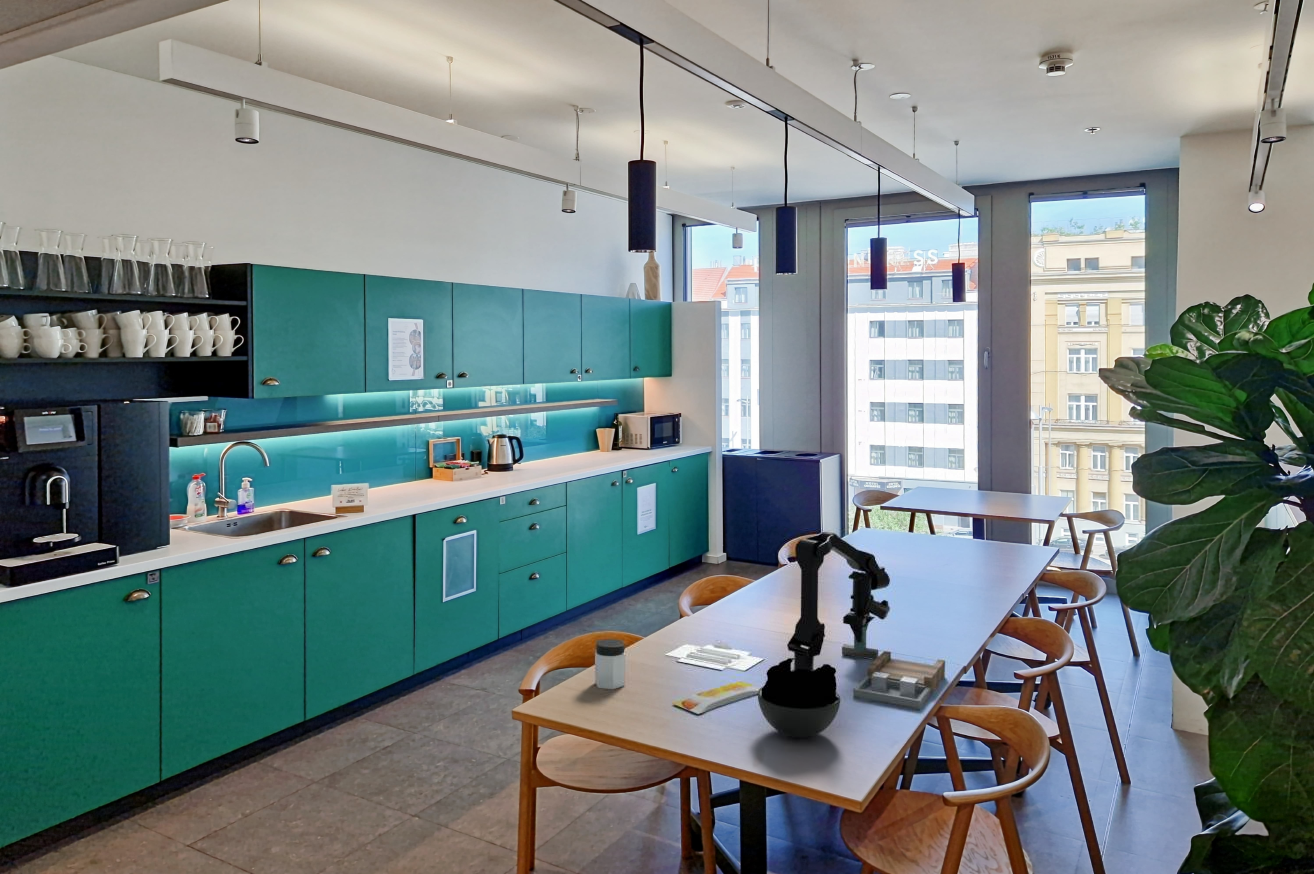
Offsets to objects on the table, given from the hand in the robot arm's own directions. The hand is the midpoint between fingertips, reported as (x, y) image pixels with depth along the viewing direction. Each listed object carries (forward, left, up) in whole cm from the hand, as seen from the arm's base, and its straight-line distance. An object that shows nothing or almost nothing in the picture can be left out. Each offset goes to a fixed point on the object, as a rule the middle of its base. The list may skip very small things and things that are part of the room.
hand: (860, 641), depth 282 cm
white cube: (-25, -14, -3) cm, 29 cm away
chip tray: (-30, -18, -5) cm, 36 cm away
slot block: (-14, -18, -5) cm, 24 cm away
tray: (-24, +39, -6) cm, 47 cm away
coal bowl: (-69, -5, -6) cm, 69 cm away
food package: (-56, +22, -6) cm, 60 cm away
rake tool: (0, 0, -5) cm, 5 cm away
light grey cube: (-25, -22, -3) cm, 33 cm away
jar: (-62, +54, -6) cm, 82 cm away
